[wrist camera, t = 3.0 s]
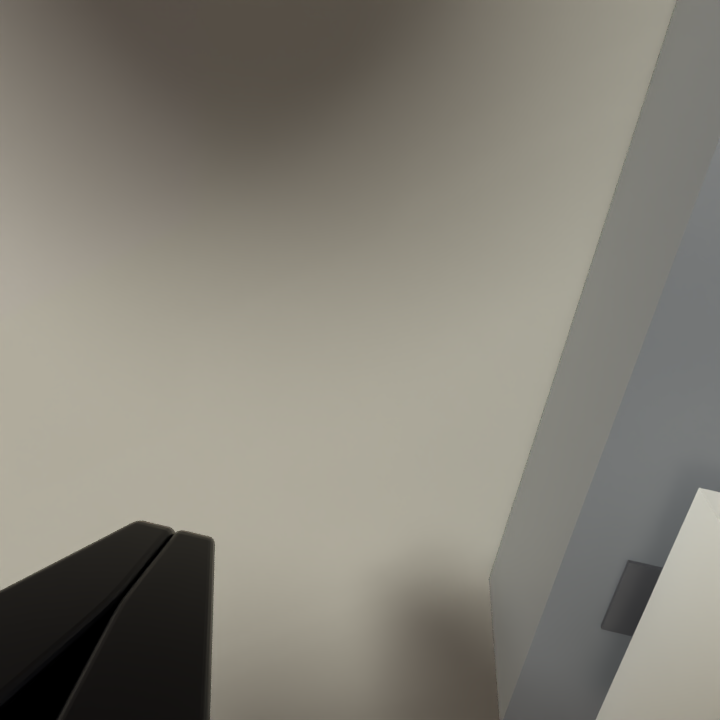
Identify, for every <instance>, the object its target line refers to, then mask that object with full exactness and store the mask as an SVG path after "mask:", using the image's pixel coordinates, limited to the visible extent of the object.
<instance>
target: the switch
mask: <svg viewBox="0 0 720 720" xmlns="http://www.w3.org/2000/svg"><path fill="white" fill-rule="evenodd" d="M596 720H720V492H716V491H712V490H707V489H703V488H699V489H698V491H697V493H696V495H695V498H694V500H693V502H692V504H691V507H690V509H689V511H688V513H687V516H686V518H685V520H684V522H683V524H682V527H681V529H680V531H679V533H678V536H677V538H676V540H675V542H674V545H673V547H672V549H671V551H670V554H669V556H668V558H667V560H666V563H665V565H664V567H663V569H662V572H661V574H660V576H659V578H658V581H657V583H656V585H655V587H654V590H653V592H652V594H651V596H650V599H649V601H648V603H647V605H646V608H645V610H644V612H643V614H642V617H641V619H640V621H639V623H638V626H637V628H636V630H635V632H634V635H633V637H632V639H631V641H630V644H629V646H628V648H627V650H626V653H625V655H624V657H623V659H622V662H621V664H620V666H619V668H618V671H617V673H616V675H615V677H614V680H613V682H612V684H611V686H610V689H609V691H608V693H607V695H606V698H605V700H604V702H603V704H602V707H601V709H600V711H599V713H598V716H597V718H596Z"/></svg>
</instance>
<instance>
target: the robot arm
mask: <svg viewBox="0 0 720 720" xmlns="http://www.w3.org/2000/svg"><path fill="white" fill-rule="evenodd" d="M214 555H215V542H214V540H213V539H212V538H211V537H209V536H205V535H201V534H197V533H192V532H188V531H183V530H181V531H178V532H176V533H175V531H174V530H173V529H172V528H170V527H167V526H163V525H159V524H154V523H150V522H146V521H136V522H133V523H131V524H129V525H127V526H125V527H123V528H121V529H119V530H117V531H115V532H113V533H111V534H110V535H108V536H106V537H104V538H102V539H100V540H98V541H96V542H94V543H92V544H90V545H88V546H86V547H84V548H82V549H80V550H78V551H77V552H75V553H73V554H71V555H69V556H67V557H65V558H63V559H61V560H59V561H57V562H55V563H53V564H51V565H49V566H47V567H45V568H44V569H42V570H40V571H38V572H36V573H34V574H32V575H30V576H28V577H26V578H24V579H22V580H20V581H18V582H16V583H14V584H12V585H11V586H9V587H7V588H5V589H3V590H1V591H0V720H210V702H211V665H212V629H213V592H214Z"/></svg>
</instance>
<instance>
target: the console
mask: <svg viewBox="0 0 720 720" xmlns="http://www.w3.org/2000/svg"><path fill="white" fill-rule="evenodd" d="M699 488H703V489H707V490H712V491H716V492H720V0H677V2H676V5H675V8H674V11H673V14H672V17H671V20H670V23H669V26H668V29H667V32H666V36H665V39H664V42H663V45H662V48H661V51H660V54H659V57H658V60H657V63H656V66H655V69H654V72H653V76H652V79H651V82H650V85H649V88H648V91H647V94H646V97H645V100H644V103H643V106H642V109H641V112H640V116H639V119H638V122H637V125H636V128H635V131H634V134H633V137H632V140H631V143H630V146H629V149H628V153H627V156H626V159H625V162H624V165H623V168H622V171H621V174H620V177H619V180H618V183H617V186H616V189H615V193H614V196H613V199H612V202H611V205H610V208H609V211H608V214H607V217H606V220H605V223H604V226H603V229H602V233H601V236H600V239H599V242H598V245H597V248H596V251H595V254H594V257H593V260H592V263H591V266H590V269H589V273H588V276H587V279H586V282H585V285H584V288H583V291H582V294H581V297H580V300H579V303H578V306H577V310H576V313H575V316H574V319H573V322H572V325H571V328H570V331H569V334H568V337H567V340H566V343H565V346H564V350H563V353H562V356H561V359H560V362H559V365H558V368H557V371H556V374H555V377H554V380H553V383H552V386H551V390H550V393H549V396H548V399H547V402H546V405H545V408H544V411H543V414H542V417H541V420H540V423H539V426H538V430H537V433H536V436H535V439H534V442H533V445H532V448H531V451H530V454H529V457H528V460H527V463H526V466H525V470H524V473H523V476H522V479H521V482H520V485H519V488H518V491H517V494H516V497H515V500H514V503H513V507H512V510H511V513H510V516H509V519H508V522H507V525H506V528H505V531H504V534H503V537H502V540H501V543H500V547H499V550H498V553H497V556H496V559H495V562H494V565H493V568H492V571H491V574H490V577H489V584H490V598H491V611H492V625H493V639H494V653H495V666H496V680H497V694H498V708H499V720H596V718H597V716H598V713H599V711H600V709H601V707H602V704H603V702H604V700H605V698H606V695H607V693H608V691H609V689H610V686H611V684H612V682H613V680H614V677H615V675H616V673H617V671H618V668H619V666H620V664H621V662H622V659H623V657H624V655H625V653H626V650H627V648H628V646H629V644H630V641H631V639H632V637H633V635H634V632H635V630H636V628H637V626H638V623H639V621H640V619H641V617H642V614H643V612H644V610H645V608H646V605H647V603H648V601H649V599H650V596H651V594H652V592H653V590H654V587H655V585H656V583H657V581H658V578H659V576H660V574H661V572H662V569H663V567H664V565H665V563H666V560H667V558H668V556H669V554H670V551H671V549H672V547H673V545H674V542H675V540H676V538H677V536H678V533H679V531H680V529H681V527H682V524H683V522H684V520H685V518H686V516H687V513H688V511H689V509H690V507H691V504H692V502H693V500H694V498H695V495H696V493H697V491H698V489H699Z"/></svg>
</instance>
